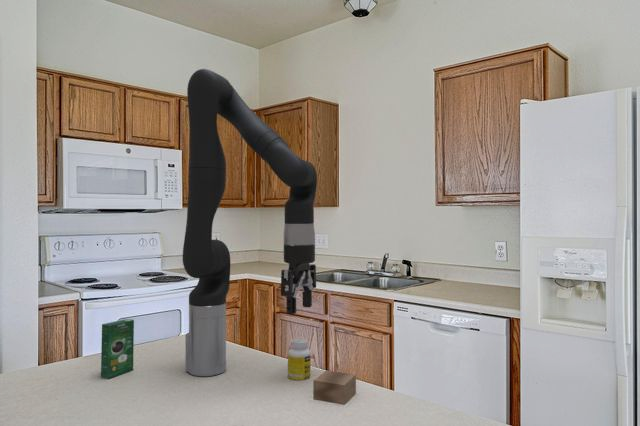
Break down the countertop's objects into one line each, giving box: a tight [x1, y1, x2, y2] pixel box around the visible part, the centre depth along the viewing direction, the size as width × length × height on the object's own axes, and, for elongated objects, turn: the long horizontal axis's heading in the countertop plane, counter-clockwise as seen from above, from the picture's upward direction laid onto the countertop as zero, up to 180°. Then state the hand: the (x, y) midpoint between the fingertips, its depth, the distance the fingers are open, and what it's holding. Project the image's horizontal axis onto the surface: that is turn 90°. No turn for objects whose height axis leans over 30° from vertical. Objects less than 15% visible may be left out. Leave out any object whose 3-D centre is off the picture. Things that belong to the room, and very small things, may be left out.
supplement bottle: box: [287, 338, 312, 381], centre depth 118 cm, size 5×5×10 cm
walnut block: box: [312, 369, 357, 405], centre depth 105 cm, size 7×7×4 cm
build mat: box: [308, 391, 361, 408], centre depth 108 cm, size 12×12×1 cm
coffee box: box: [100, 318, 135, 380], centre depth 122 cm, size 8×3×13 cm, turn 153°
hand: (299, 310), depth 117 cm, fingers open, 8 cm apart
